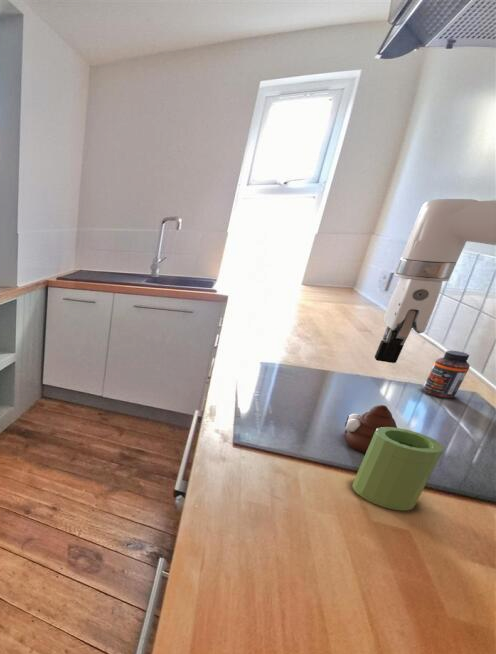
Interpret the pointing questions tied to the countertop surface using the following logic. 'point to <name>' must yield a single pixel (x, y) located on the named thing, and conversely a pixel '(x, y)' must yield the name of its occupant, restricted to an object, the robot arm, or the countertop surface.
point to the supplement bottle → (447, 374)
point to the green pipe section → (396, 467)
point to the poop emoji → (366, 426)
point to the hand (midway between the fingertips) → (384, 360)
